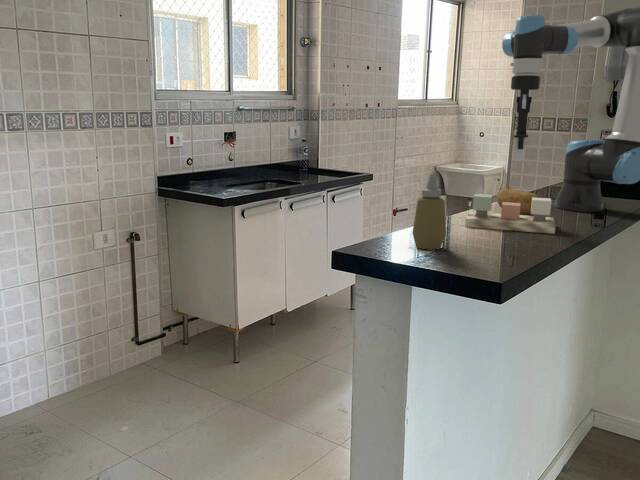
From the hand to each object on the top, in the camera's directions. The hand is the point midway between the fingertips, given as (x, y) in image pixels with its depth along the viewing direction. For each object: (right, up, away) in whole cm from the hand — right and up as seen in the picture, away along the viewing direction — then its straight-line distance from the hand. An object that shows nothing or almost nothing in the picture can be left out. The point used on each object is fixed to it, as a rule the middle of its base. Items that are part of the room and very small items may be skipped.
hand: (519, 160), depth 171 cm
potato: (+6, -15, +20) cm, 26 cm away
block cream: (+6, -17, 0) cm, 18 cm away
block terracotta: (-2, -18, +2) cm, 19 cm away
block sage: (-10, -16, +4) cm, 19 cm away
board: (-2, -19, +2) cm, 19 cm away
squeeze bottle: (-30, -25, -25) cm, 47 cm away
